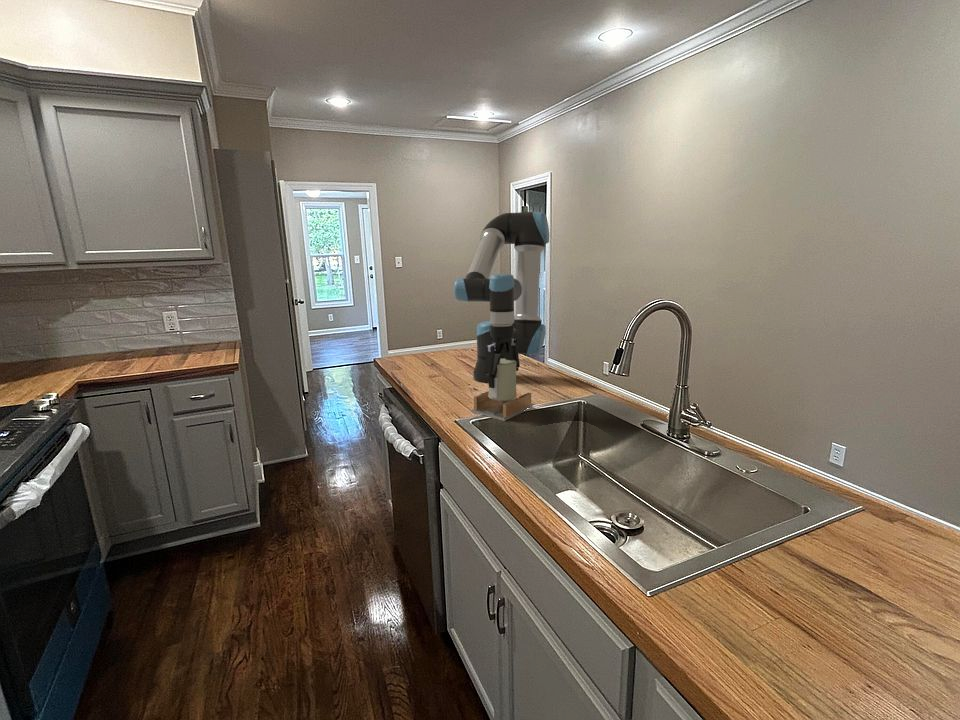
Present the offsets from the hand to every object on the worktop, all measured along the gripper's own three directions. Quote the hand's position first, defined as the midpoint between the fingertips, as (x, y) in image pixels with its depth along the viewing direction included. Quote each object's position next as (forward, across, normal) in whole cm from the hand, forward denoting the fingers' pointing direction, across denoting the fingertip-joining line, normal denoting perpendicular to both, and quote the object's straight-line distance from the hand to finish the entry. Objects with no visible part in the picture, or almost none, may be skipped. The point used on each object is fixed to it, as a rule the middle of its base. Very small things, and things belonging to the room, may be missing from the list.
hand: (502, 393), depth 154 cm
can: (+1, 0, 0) cm, 1 cm away
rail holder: (+6, 0, 0) cm, 6 cm away
